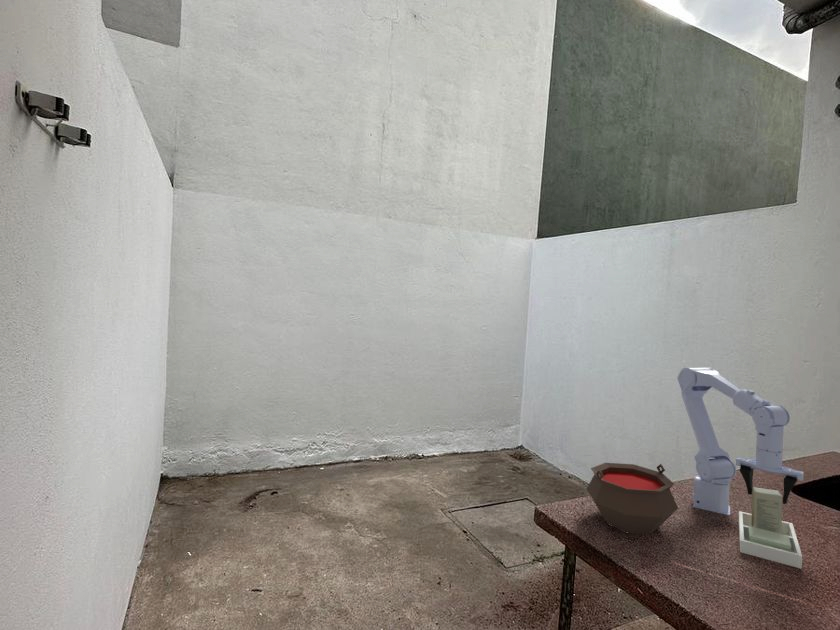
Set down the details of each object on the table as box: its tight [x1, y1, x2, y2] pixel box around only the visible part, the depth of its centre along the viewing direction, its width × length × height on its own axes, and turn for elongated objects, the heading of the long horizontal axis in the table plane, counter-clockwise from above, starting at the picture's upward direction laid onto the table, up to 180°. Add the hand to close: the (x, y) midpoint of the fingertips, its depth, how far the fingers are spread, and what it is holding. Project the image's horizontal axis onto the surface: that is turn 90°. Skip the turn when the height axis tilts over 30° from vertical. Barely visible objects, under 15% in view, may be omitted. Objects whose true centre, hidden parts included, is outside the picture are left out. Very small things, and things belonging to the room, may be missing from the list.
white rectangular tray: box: [738, 510, 803, 570], centre depth 118 cm, size 12×20×4 cm, turn 145°
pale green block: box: [749, 526, 791, 552], centre depth 114 cm, size 8×6×4 cm
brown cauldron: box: [586, 462, 679, 536], centre depth 129 cm, size 24×24×16 cm
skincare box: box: [751, 486, 783, 534], centre depth 122 cm, size 6×4×12 cm
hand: (767, 498), depth 123 cm, fingers open, 7 cm apart
